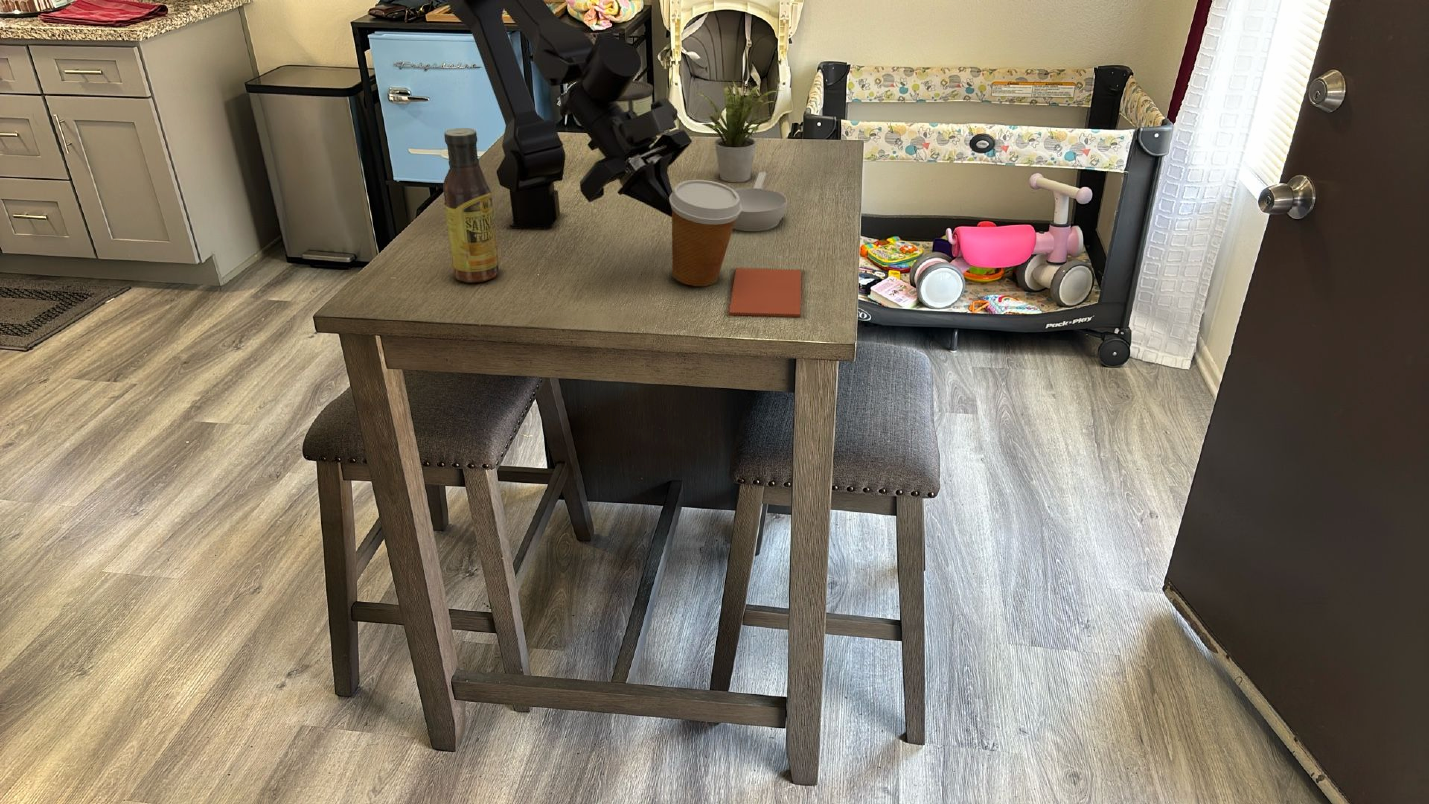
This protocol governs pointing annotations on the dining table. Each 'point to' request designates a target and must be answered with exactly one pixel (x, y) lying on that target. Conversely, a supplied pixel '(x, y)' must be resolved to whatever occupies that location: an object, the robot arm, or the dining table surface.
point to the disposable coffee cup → (701, 229)
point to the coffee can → (636, 101)
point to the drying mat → (766, 292)
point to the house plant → (736, 134)
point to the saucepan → (759, 207)
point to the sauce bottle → (469, 210)
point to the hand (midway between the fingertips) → (675, 214)
